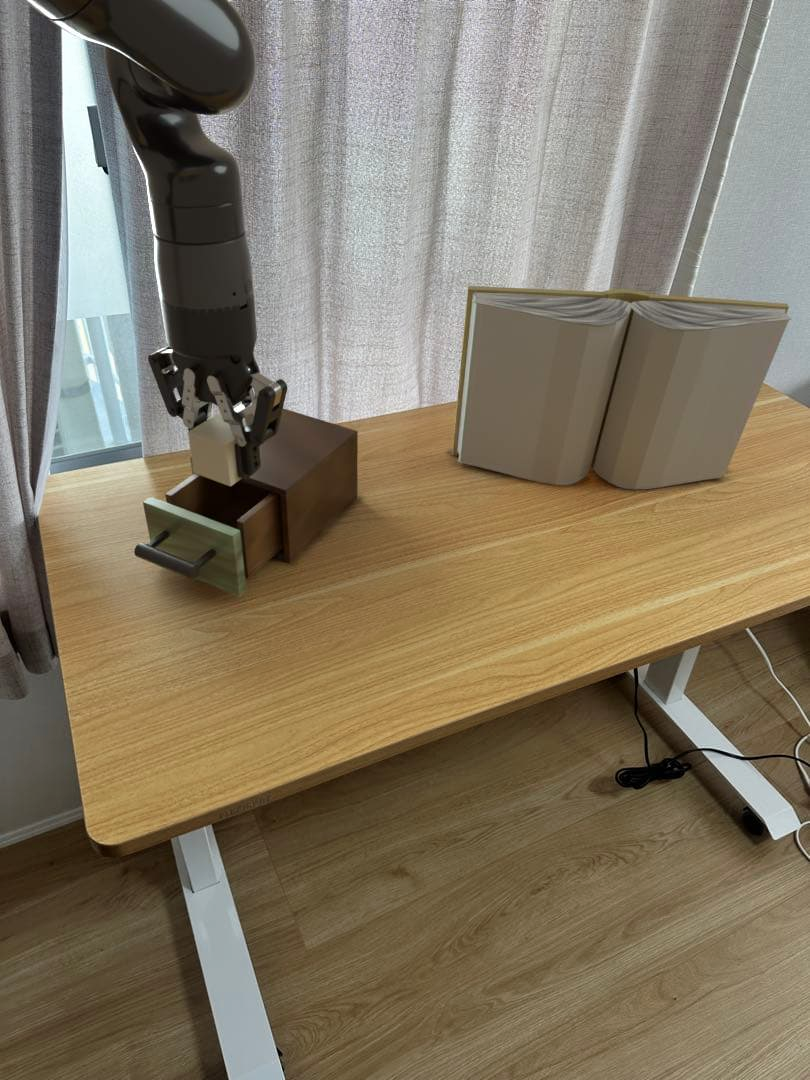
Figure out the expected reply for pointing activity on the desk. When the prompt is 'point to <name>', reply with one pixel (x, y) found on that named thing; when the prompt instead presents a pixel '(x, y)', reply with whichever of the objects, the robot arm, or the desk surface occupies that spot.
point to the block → (214, 450)
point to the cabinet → (308, 476)
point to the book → (609, 383)
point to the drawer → (213, 531)
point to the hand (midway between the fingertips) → (226, 466)
